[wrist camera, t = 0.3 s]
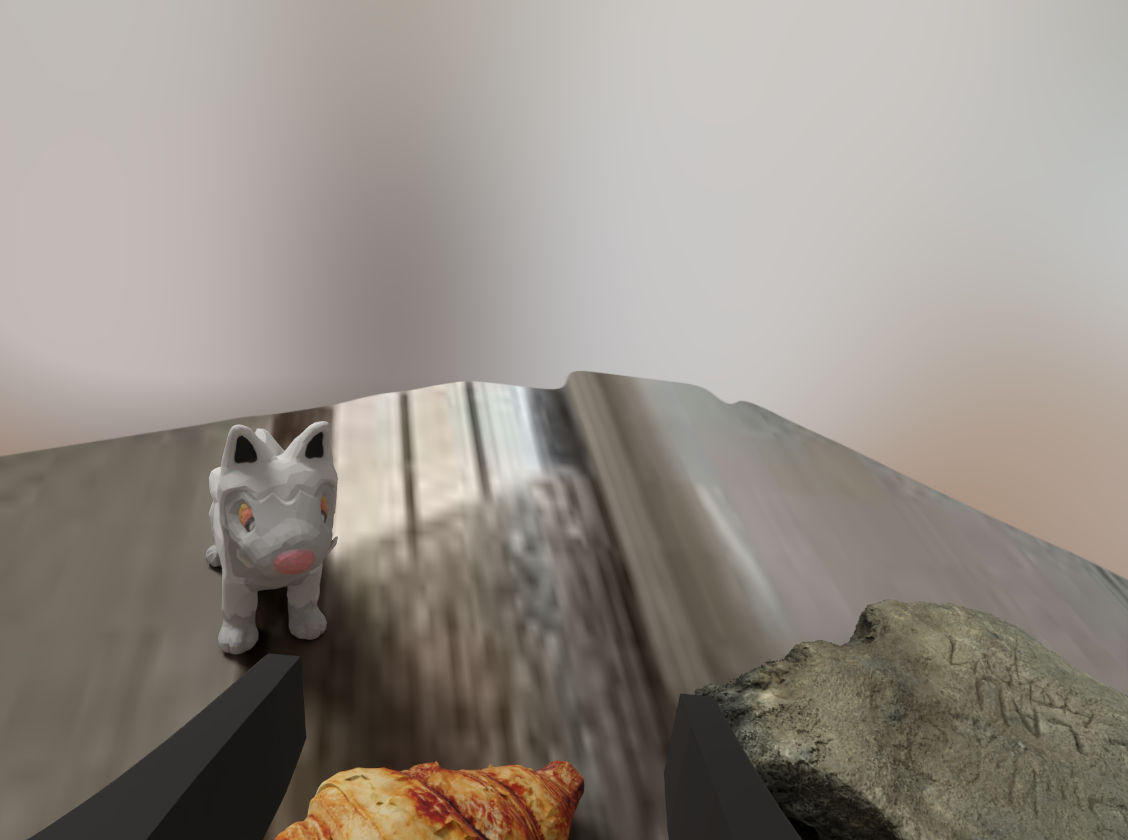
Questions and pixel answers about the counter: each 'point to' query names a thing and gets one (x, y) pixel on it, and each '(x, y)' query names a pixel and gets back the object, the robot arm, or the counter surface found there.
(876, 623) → the stone
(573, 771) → the croissant
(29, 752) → the counter surface
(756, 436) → the counter surface
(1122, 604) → the counter surface
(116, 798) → the robot arm
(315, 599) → the toy
